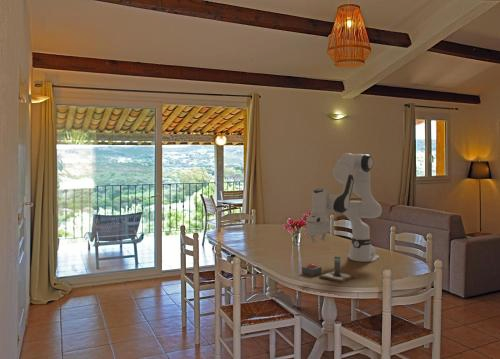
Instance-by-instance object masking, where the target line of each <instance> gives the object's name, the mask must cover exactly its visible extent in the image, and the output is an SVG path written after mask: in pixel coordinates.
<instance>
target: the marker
mask: <svg viewBox="0 0 500 359" xmlns="http://www.w3.org/2000/svg"><path fill="white" fill-rule="evenodd" d="M333 259H334V262H333V264H334V265H333V268H334V270H333V271H334V275H335V276H340V273H341V259H342V258H341V257H340V256H334V257H333Z"/></svg>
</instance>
